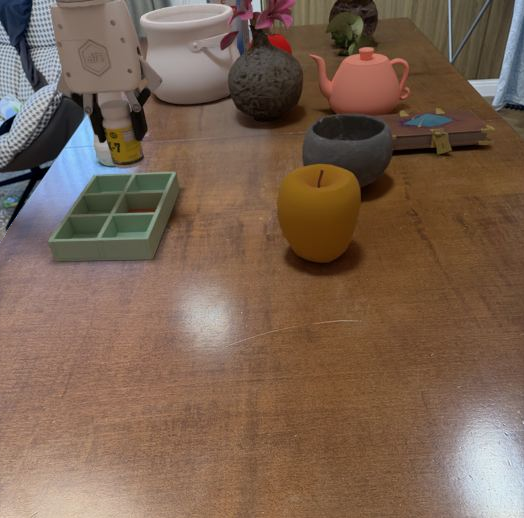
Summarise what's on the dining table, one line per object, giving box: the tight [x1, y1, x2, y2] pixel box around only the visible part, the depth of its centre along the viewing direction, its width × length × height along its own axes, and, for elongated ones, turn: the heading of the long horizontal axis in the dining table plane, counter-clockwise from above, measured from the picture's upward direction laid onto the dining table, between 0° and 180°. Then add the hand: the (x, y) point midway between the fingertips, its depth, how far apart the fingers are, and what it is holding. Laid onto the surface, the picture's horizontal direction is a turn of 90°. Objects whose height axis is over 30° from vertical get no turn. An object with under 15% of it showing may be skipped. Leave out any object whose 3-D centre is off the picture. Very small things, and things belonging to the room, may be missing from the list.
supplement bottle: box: [100, 99, 145, 169], centre depth 73 cm, size 5×5×8 cm
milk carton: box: [205, 0, 251, 56], centre depth 146 cm, size 10×6×20 cm, turn 73°
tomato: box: [249, 31, 293, 56], centre depth 135 cm, size 11×13×10 cm
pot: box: [139, 3, 240, 105], centre depth 125 cm, size 26×24×18 cm
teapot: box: [308, 47, 411, 116], centre depth 109 cm, size 22×16×12 cm
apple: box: [276, 164, 362, 264], centre depth 68 cm, size 11×11×13 cm
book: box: [373, 107, 496, 156], centre depth 98 cm, size 16×25×5 cm, turn 91°
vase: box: [220, 0, 304, 124], centre depth 104 cm, size 17×18×30 cm
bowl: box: [301, 114, 394, 189], centre depth 85 cm, size 15×15×10 cm
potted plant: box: [325, 0, 379, 57], centre depth 144 cm, size 16×15×35 cm
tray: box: [47, 171, 181, 262], centre depth 82 cm, size 15×22×4 cm
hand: (122, 137), depth 74 cm, fingers closed on supplement bottle, 4 cm apart
